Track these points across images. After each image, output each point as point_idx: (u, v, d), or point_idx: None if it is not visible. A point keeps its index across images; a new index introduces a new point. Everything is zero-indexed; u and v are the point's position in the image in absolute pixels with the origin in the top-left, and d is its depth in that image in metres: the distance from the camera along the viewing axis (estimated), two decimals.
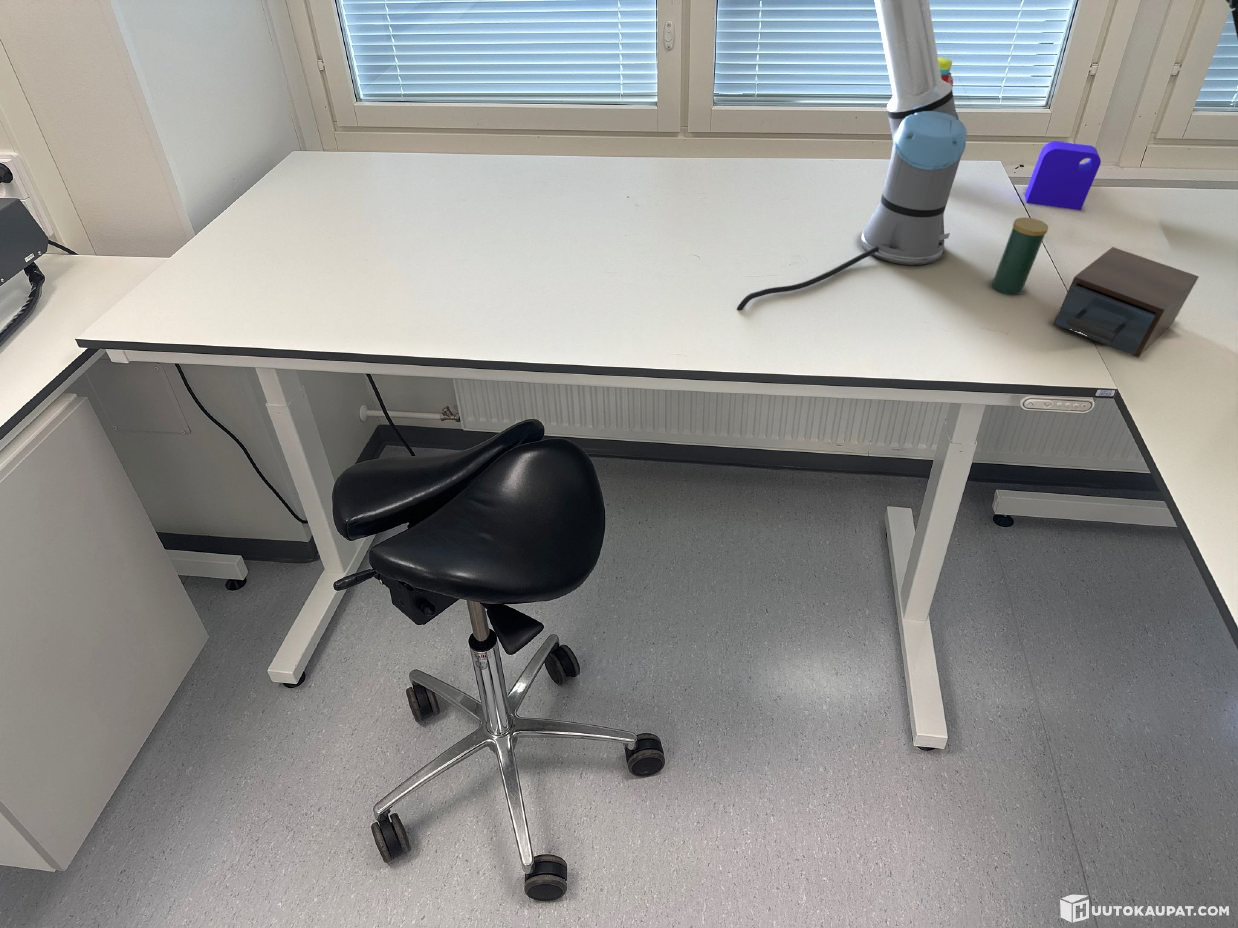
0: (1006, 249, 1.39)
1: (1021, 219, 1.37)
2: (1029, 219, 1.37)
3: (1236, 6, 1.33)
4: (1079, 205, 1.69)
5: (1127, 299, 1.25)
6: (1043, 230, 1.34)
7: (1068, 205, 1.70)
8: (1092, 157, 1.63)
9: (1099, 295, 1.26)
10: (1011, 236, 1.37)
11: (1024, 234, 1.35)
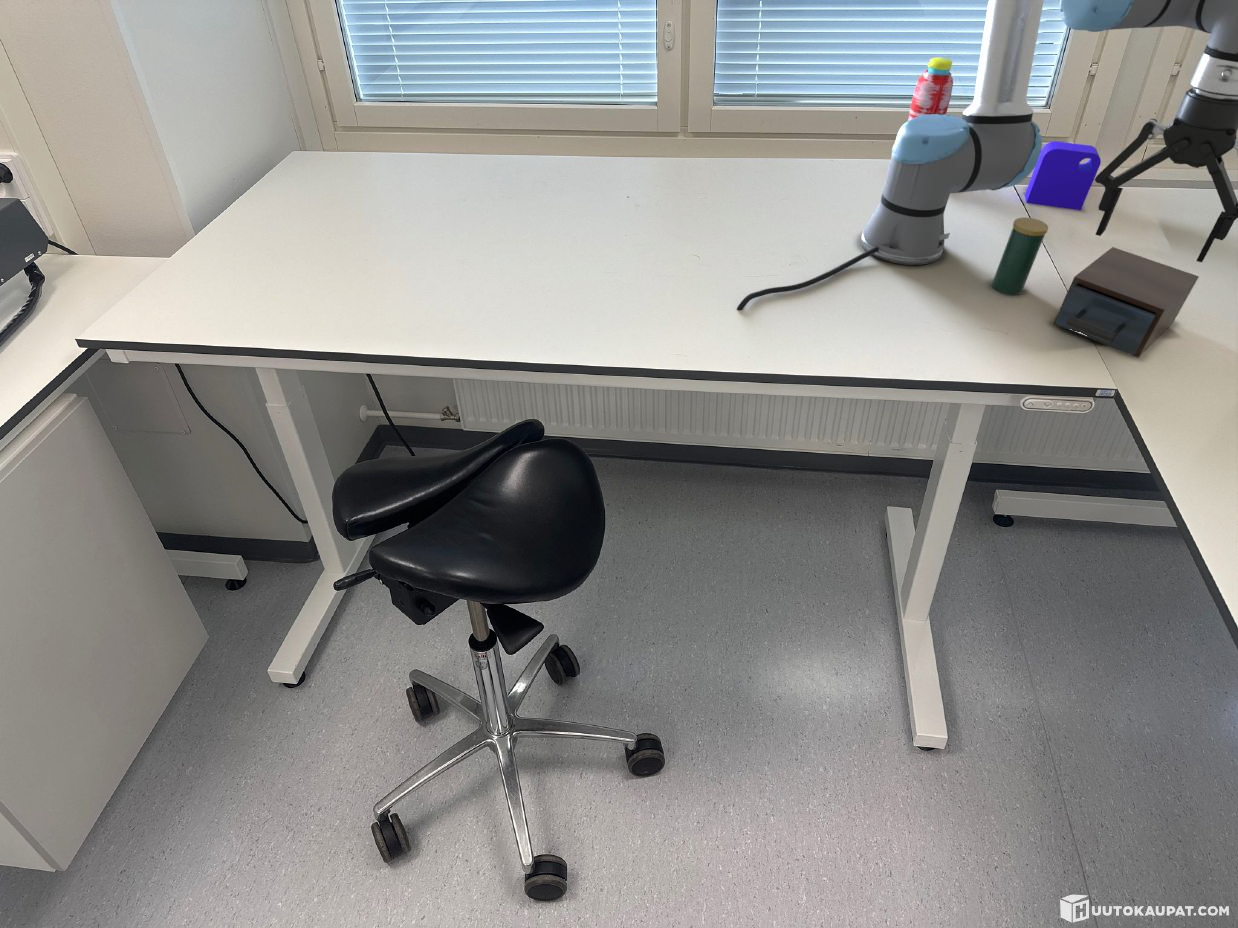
0: (1006, 249, 1.39)
1: (1021, 219, 1.37)
2: (1029, 219, 1.37)
3: None
4: (1079, 205, 1.69)
5: (1127, 299, 1.25)
6: (1043, 230, 1.34)
7: (1068, 205, 1.70)
8: (1092, 157, 1.63)
9: (1099, 295, 1.26)
10: (1011, 236, 1.37)
11: (1024, 234, 1.35)
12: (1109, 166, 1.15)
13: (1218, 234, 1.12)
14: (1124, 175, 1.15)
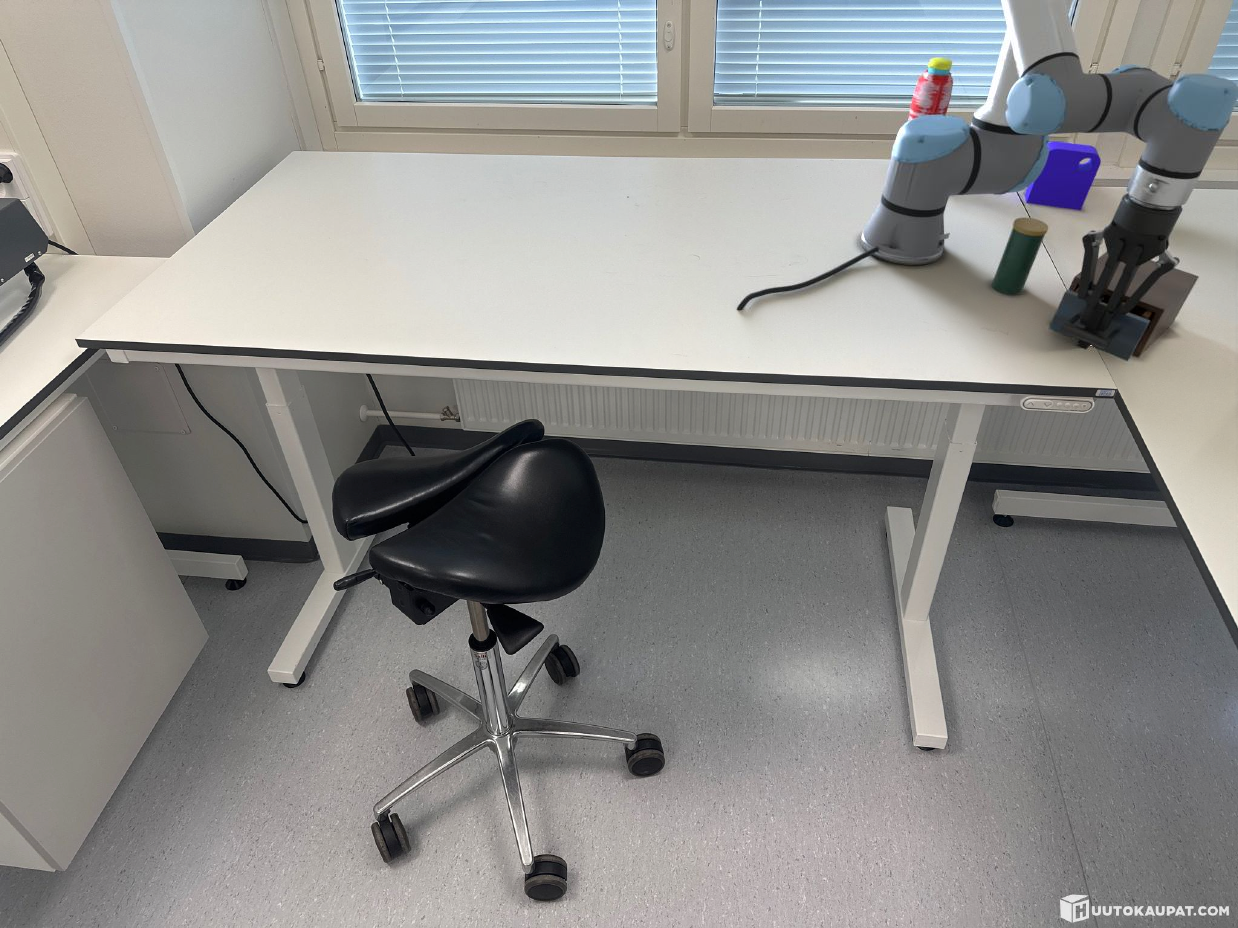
0: (1006, 249, 1.39)
1: (1021, 219, 1.37)
2: (1029, 219, 1.37)
3: None
4: (1079, 205, 1.69)
5: (1127, 299, 1.25)
6: (1043, 230, 1.34)
7: (1068, 205, 1.70)
8: (1092, 157, 1.63)
9: None
10: (1011, 236, 1.37)
11: (1024, 234, 1.35)
12: (1081, 282, 1.21)
13: (1099, 326, 1.23)
14: (1095, 290, 1.20)
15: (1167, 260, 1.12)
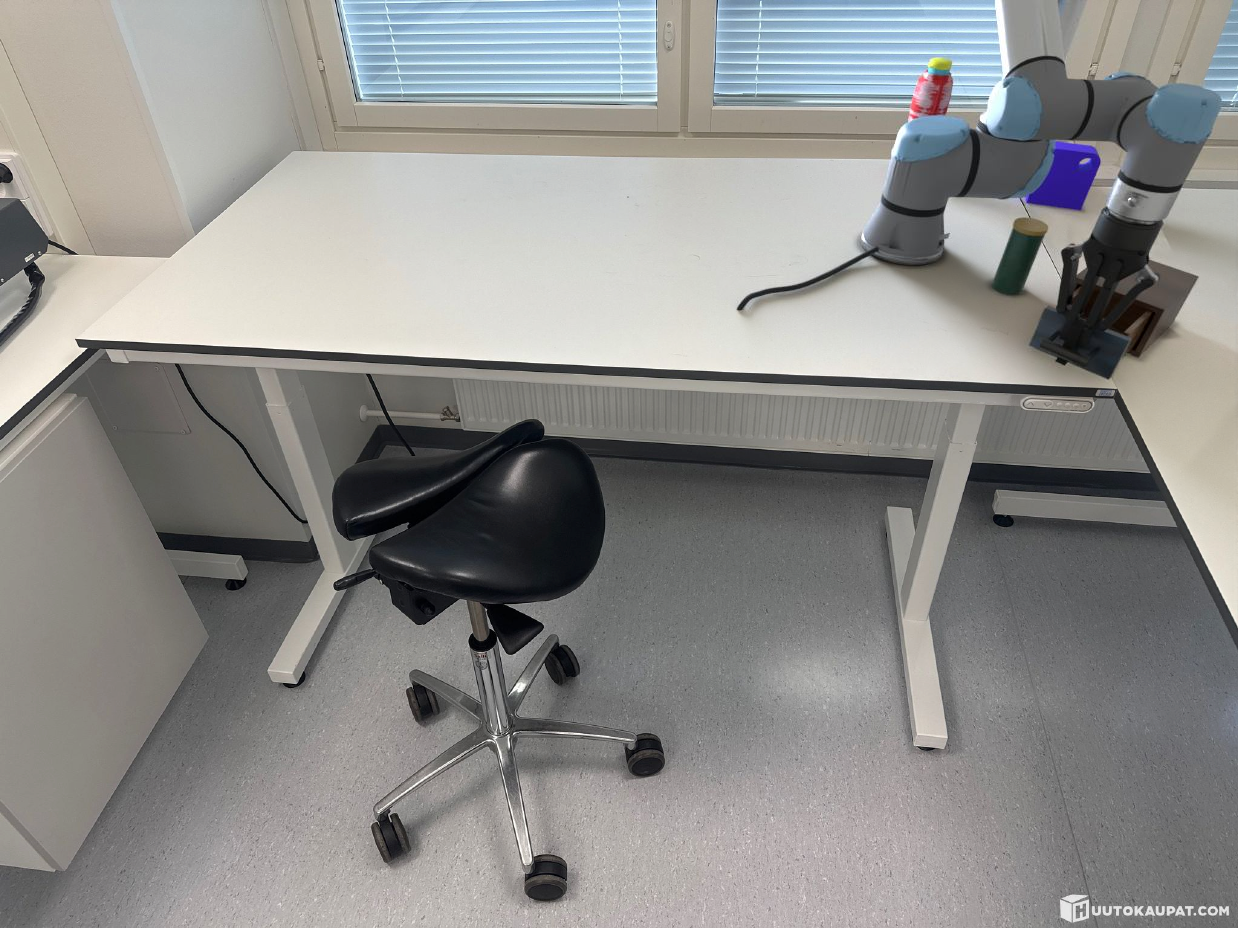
0: (1006, 249, 1.39)
1: (1021, 219, 1.37)
2: (1029, 219, 1.37)
3: None
4: (1079, 205, 1.69)
5: None
6: (1043, 230, 1.34)
7: (1068, 205, 1.70)
8: (1092, 157, 1.63)
9: None
10: (1011, 236, 1.37)
11: (1024, 234, 1.35)
12: (1060, 297, 1.17)
13: (1078, 342, 1.19)
14: (1074, 305, 1.16)
15: (1147, 276, 1.08)
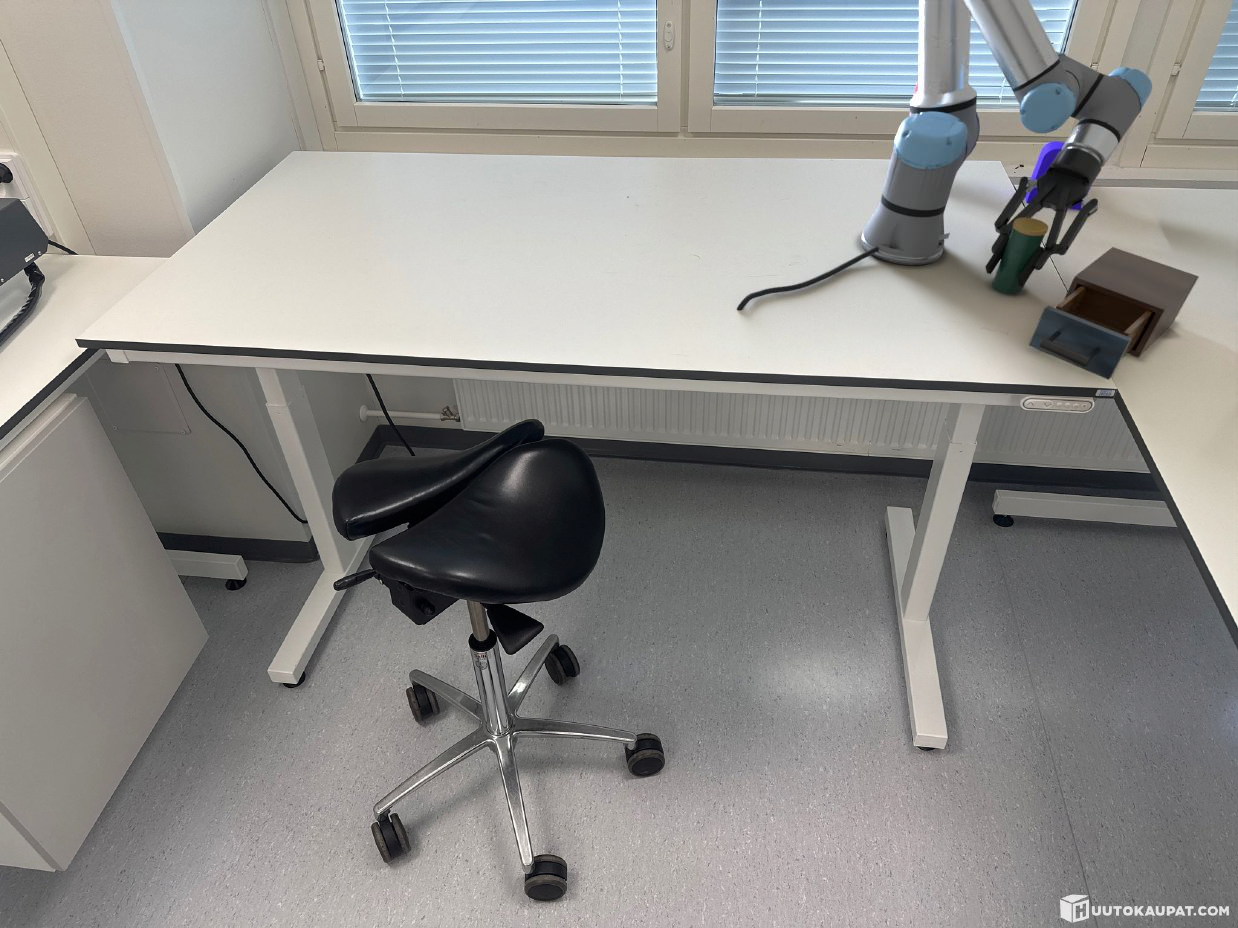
0: (1006, 249, 1.39)
1: (1021, 219, 1.37)
2: (1029, 219, 1.37)
3: (1007, 234, 1.40)
4: (1079, 205, 1.69)
5: (1127, 299, 1.25)
6: (1043, 230, 1.34)
7: None
8: None
9: (1073, 317, 1.21)
10: (1011, 236, 1.37)
11: (1024, 234, 1.35)
12: None
13: None
14: (1055, 240, 1.38)
15: None
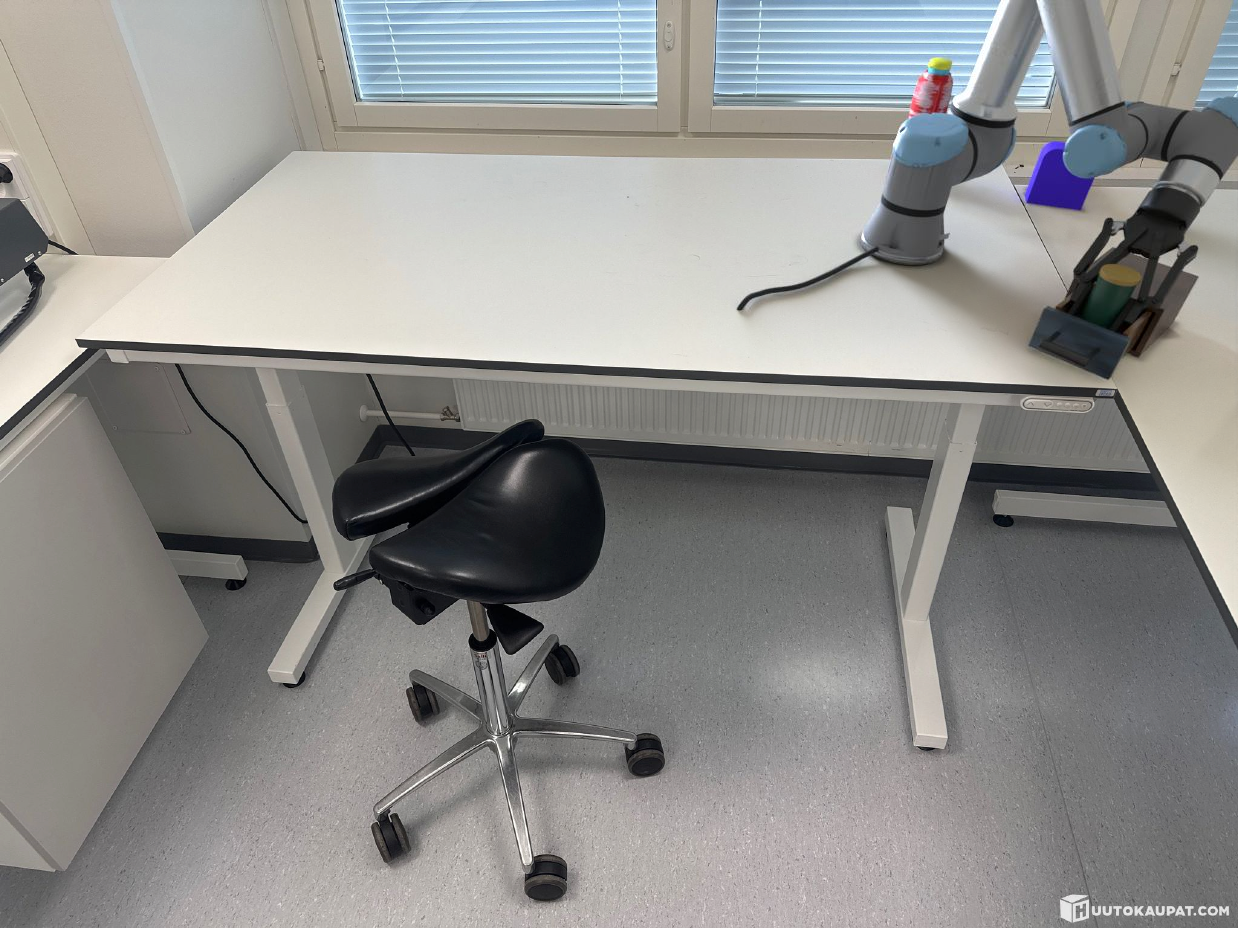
0: (1090, 299, 1.22)
1: (1109, 266, 1.20)
2: (1118, 266, 1.20)
3: (1089, 282, 1.24)
4: (1079, 205, 1.69)
5: None
6: (1137, 280, 1.17)
7: (1068, 205, 1.70)
8: None
9: (1073, 317, 1.21)
10: (1097, 285, 1.20)
11: (1114, 284, 1.18)
12: None
13: None
14: None
15: None
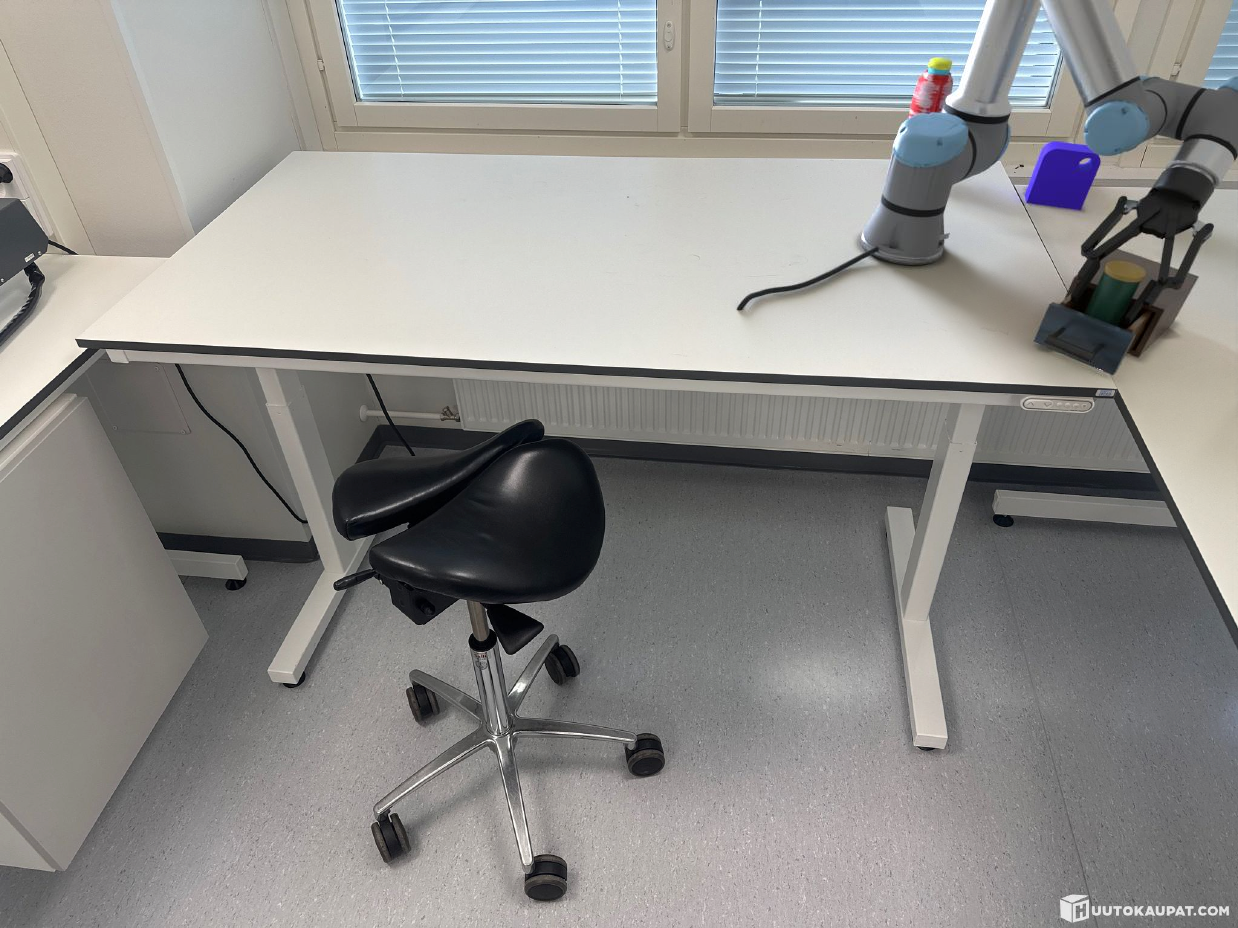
0: (1095, 295, 1.23)
1: (1113, 262, 1.21)
2: (1122, 262, 1.21)
3: (1096, 259, 1.24)
4: (1079, 205, 1.69)
5: None
6: (1141, 276, 1.18)
7: (1068, 205, 1.70)
8: (1092, 157, 1.63)
9: (1078, 313, 1.22)
10: (1102, 281, 1.21)
11: (1119, 280, 1.19)
12: None
13: None
14: None
15: None
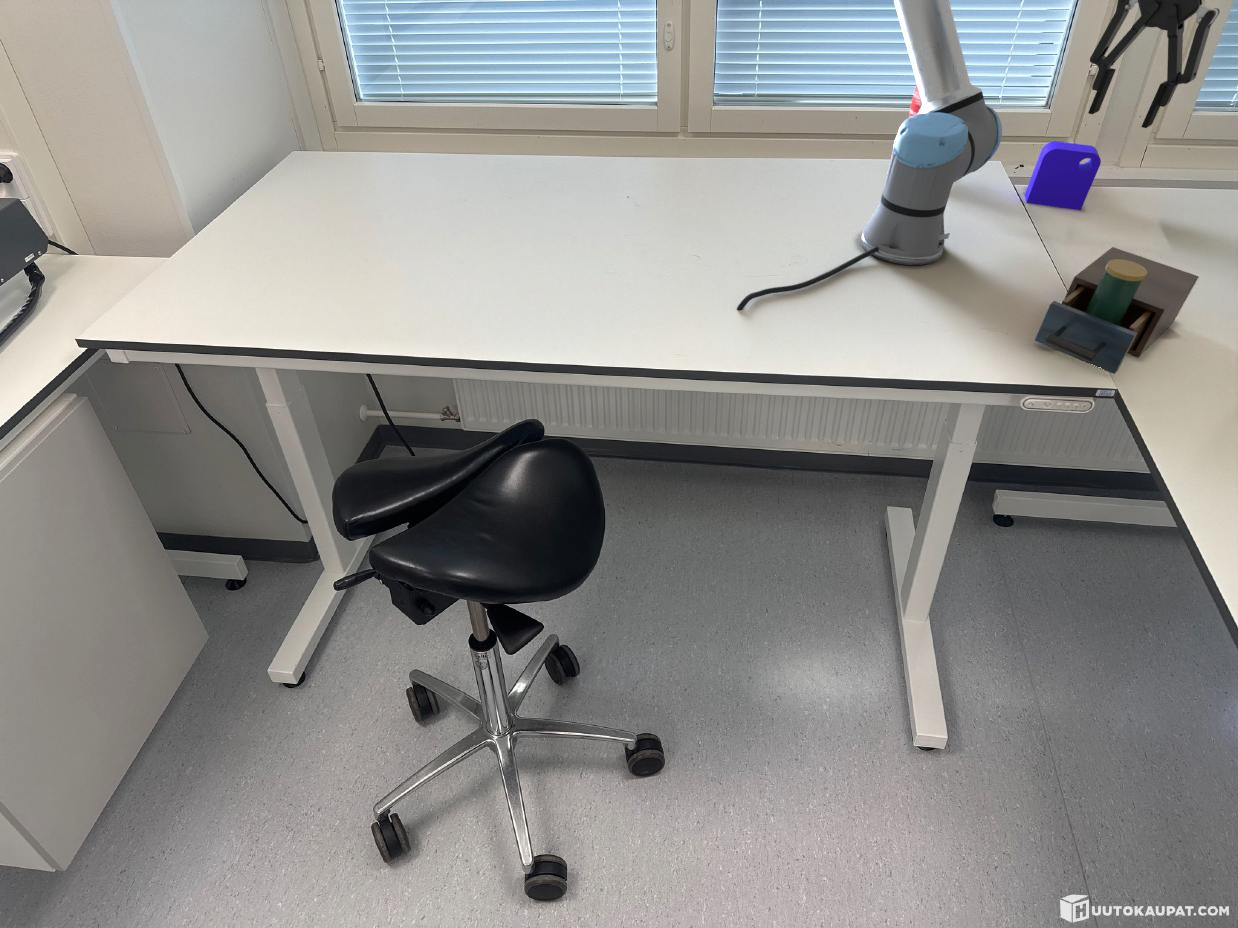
0: (1096, 294, 1.23)
1: (1115, 261, 1.22)
2: (1124, 261, 1.22)
3: (1107, 68, 1.29)
4: (1079, 205, 1.69)
5: None
6: (1142, 275, 1.19)
7: (1068, 205, 1.70)
8: (1092, 157, 1.63)
9: (1079, 312, 1.22)
10: (1103, 280, 1.22)
11: (1120, 279, 1.19)
12: None
13: None
14: None
15: None
